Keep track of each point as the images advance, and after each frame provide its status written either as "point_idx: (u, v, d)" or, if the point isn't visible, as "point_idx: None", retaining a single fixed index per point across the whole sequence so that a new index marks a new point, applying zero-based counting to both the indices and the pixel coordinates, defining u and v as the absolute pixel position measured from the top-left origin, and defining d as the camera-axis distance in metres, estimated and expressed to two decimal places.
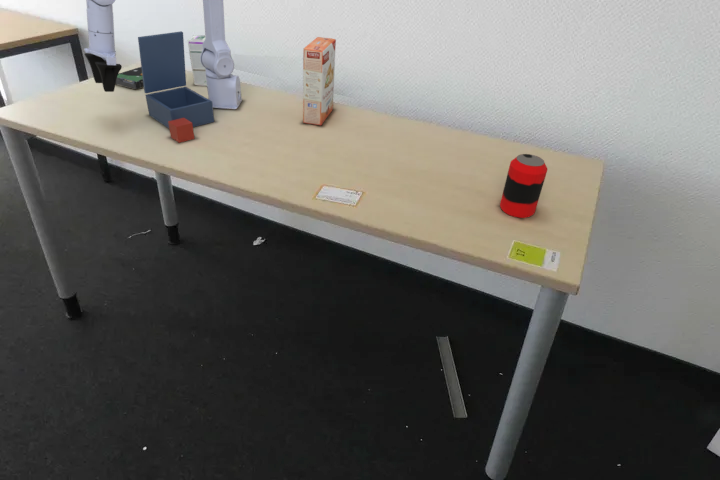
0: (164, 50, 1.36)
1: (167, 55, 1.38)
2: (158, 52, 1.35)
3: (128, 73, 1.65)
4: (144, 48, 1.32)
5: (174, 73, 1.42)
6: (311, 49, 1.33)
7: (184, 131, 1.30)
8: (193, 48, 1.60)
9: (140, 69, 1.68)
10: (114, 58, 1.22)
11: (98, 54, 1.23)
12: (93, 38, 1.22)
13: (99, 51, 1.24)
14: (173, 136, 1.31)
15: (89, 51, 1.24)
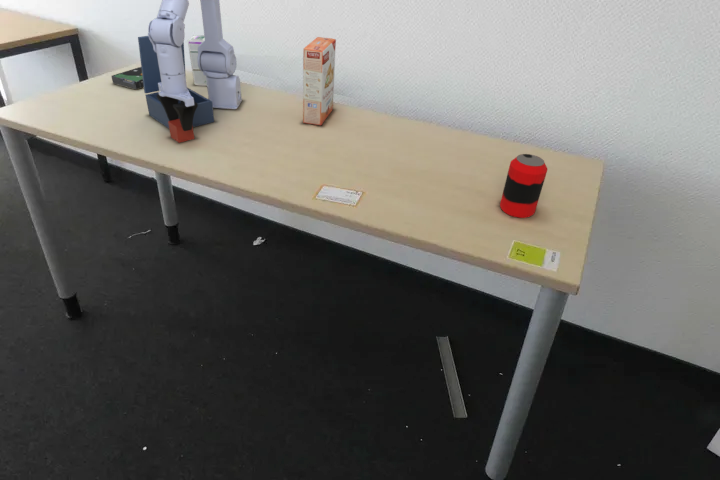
0: None
1: None
2: None
3: (128, 73, 1.65)
4: (144, 48, 1.32)
5: None
6: (311, 49, 1.33)
7: (184, 131, 1.30)
8: (193, 48, 1.60)
9: (140, 69, 1.68)
10: (192, 99, 1.22)
11: (175, 96, 1.22)
12: (168, 81, 1.22)
13: (174, 93, 1.23)
14: (173, 136, 1.31)
15: (165, 94, 1.23)
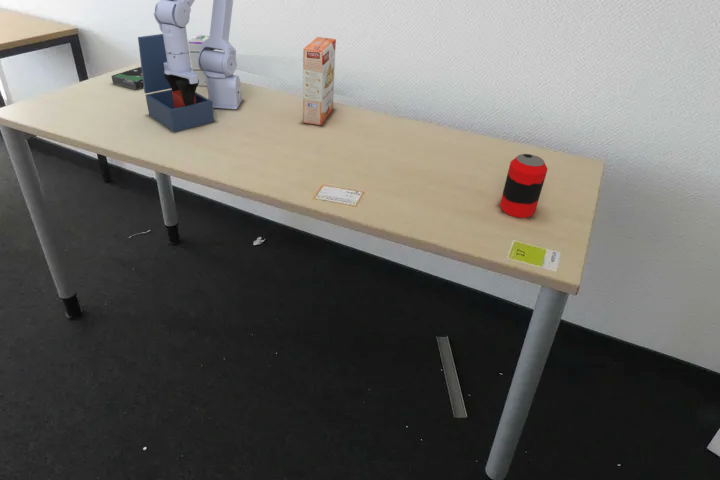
0: (164, 50, 1.36)
1: None
2: (158, 52, 1.35)
3: (128, 73, 1.65)
4: (144, 48, 1.32)
5: None
6: (311, 49, 1.33)
7: None
8: (193, 48, 1.60)
9: (140, 69, 1.68)
10: (195, 77, 1.29)
11: (180, 75, 1.30)
12: (173, 60, 1.29)
13: (179, 71, 1.30)
14: (176, 106, 1.37)
15: (170, 73, 1.30)
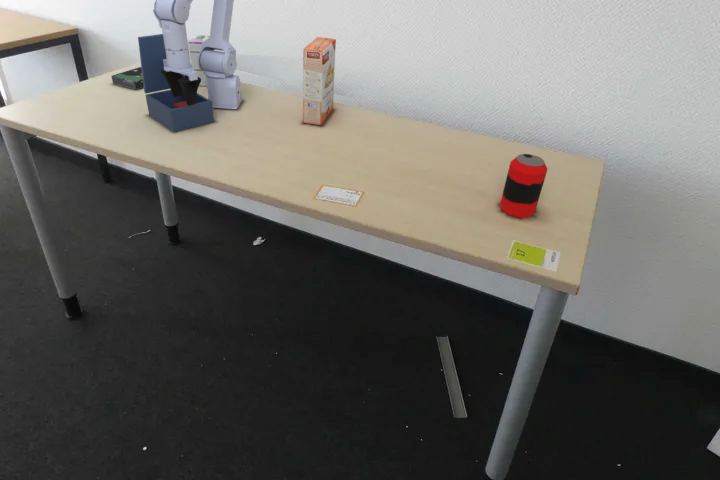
0: (164, 50, 1.36)
1: None
2: (158, 52, 1.35)
3: (128, 73, 1.65)
4: (144, 48, 1.32)
5: None
6: (311, 49, 1.33)
7: None
8: (193, 48, 1.60)
9: (140, 69, 1.68)
10: (195, 74, 1.29)
11: (179, 71, 1.29)
12: (172, 57, 1.28)
13: (179, 68, 1.30)
14: None
15: (169, 69, 1.30)
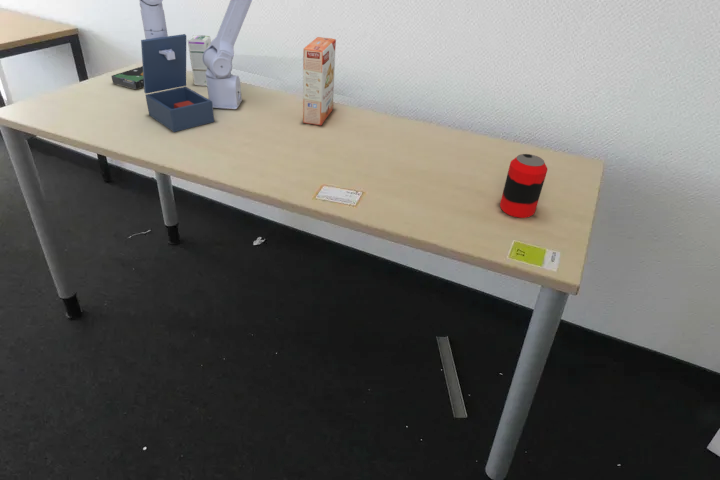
0: None
1: None
2: (160, 54, 1.35)
3: (128, 73, 1.65)
4: (146, 50, 1.32)
5: (175, 74, 1.42)
6: (311, 49, 1.33)
7: None
8: (193, 48, 1.60)
9: (140, 69, 1.68)
10: (173, 53, 1.34)
11: None
12: (151, 37, 1.33)
13: None
14: None
15: None
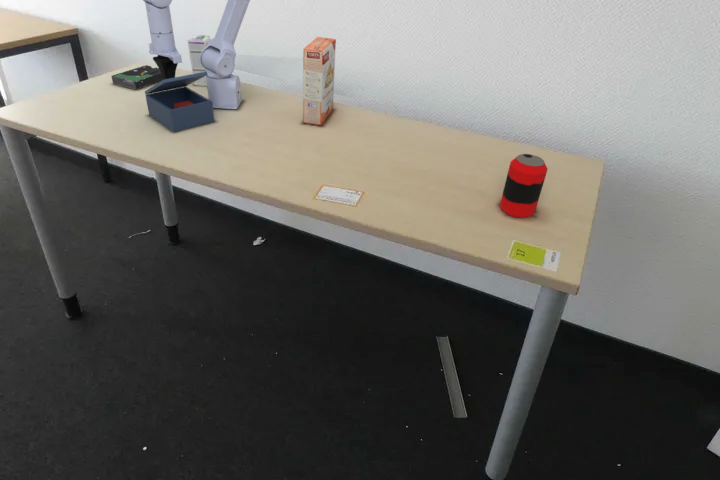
0: (181, 81, 1.35)
1: (182, 82, 1.37)
2: (175, 83, 1.35)
3: (128, 73, 1.65)
4: (164, 84, 1.31)
5: (180, 85, 1.42)
6: (311, 49, 1.33)
7: None
8: (193, 48, 1.60)
9: (140, 69, 1.68)
10: (179, 56, 1.31)
11: (164, 54, 1.32)
12: (157, 40, 1.31)
13: (163, 51, 1.33)
14: None
15: (154, 52, 1.33)
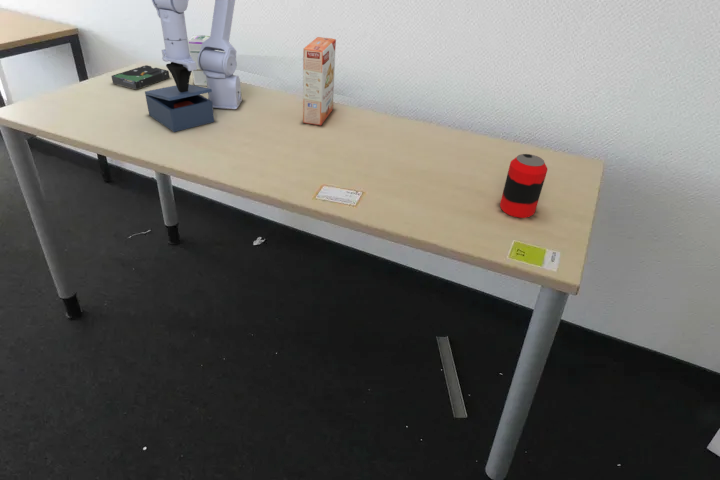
0: None
1: None
2: None
3: (128, 73, 1.65)
4: None
5: None
6: (311, 49, 1.33)
7: None
8: (193, 48, 1.60)
9: (140, 69, 1.68)
10: (194, 64, 1.27)
11: (178, 61, 1.28)
12: (171, 46, 1.27)
13: (178, 58, 1.28)
14: None
15: (168, 59, 1.28)
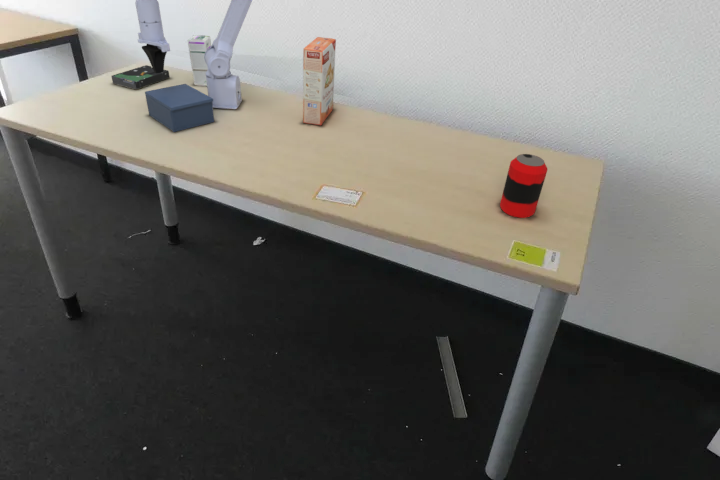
0: None
1: None
2: None
3: (128, 73, 1.65)
4: None
5: None
6: (311, 49, 1.33)
7: None
8: (193, 48, 1.60)
9: (140, 69, 1.68)
10: (167, 45, 1.34)
11: (152, 43, 1.35)
12: (145, 29, 1.34)
13: (152, 40, 1.35)
14: None
15: (143, 41, 1.35)
